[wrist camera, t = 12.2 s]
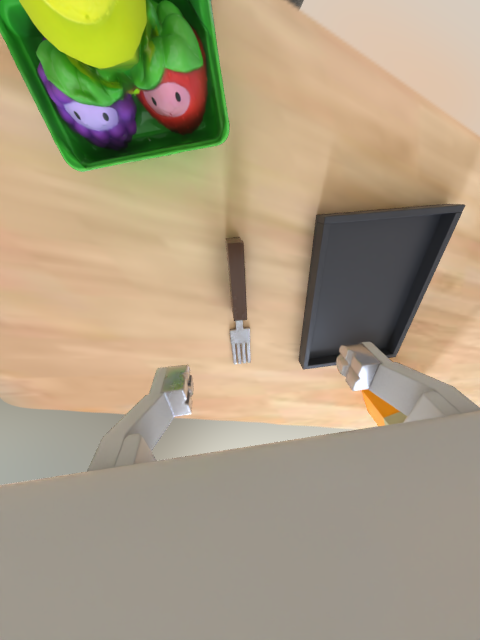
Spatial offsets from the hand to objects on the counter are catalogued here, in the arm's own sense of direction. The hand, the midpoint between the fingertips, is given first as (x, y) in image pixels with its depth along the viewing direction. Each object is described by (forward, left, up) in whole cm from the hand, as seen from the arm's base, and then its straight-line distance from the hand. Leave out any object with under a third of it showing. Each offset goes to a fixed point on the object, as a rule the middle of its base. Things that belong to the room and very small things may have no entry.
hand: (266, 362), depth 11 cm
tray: (+5, +17, -16) cm, 24 cm away
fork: (+5, 0, -16) cm, 17 cm away
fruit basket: (-15, -6, -16) cm, 22 cm away
